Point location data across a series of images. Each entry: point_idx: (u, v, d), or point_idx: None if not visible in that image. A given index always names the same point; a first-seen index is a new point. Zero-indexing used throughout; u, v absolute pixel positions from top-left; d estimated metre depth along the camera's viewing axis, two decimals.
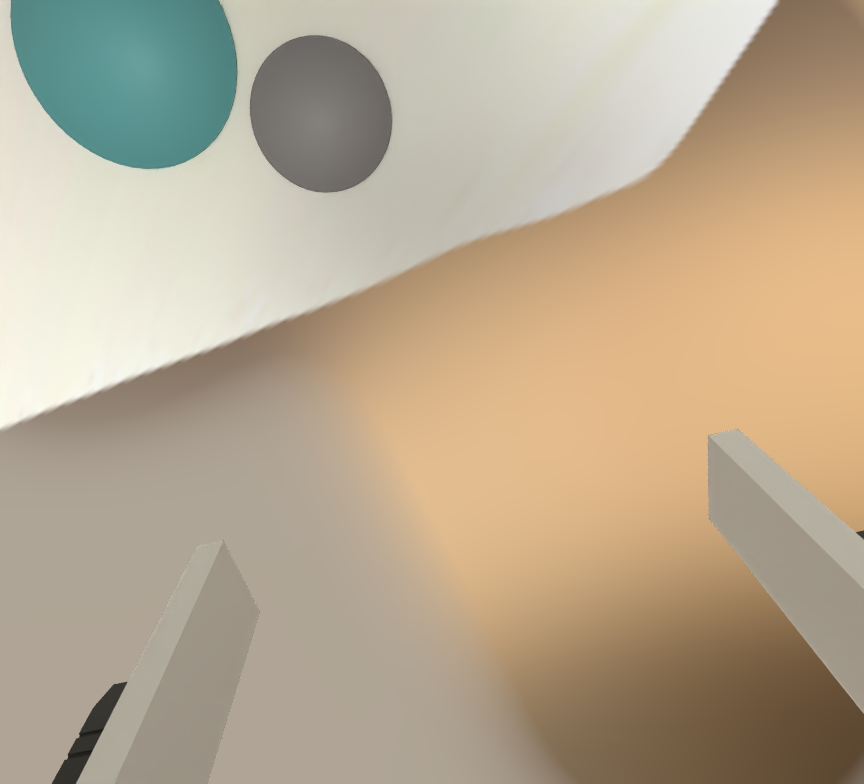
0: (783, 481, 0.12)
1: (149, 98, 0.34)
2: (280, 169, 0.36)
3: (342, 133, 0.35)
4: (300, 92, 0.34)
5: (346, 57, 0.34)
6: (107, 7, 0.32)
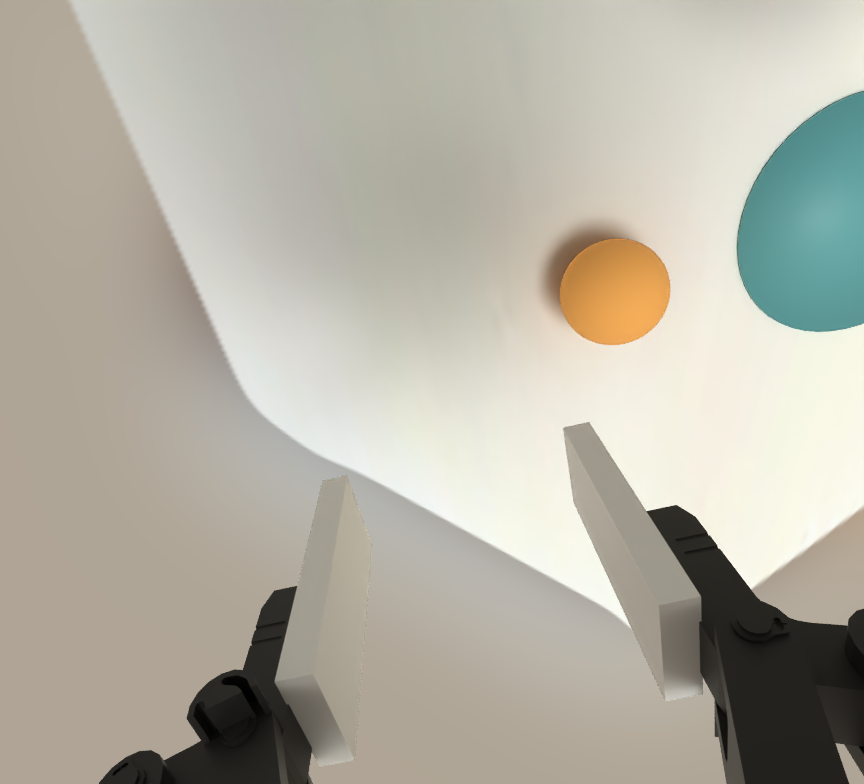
0: (606, 466, 0.14)
1: None
2: None
3: None
4: None
5: None
6: (838, 186, 0.29)
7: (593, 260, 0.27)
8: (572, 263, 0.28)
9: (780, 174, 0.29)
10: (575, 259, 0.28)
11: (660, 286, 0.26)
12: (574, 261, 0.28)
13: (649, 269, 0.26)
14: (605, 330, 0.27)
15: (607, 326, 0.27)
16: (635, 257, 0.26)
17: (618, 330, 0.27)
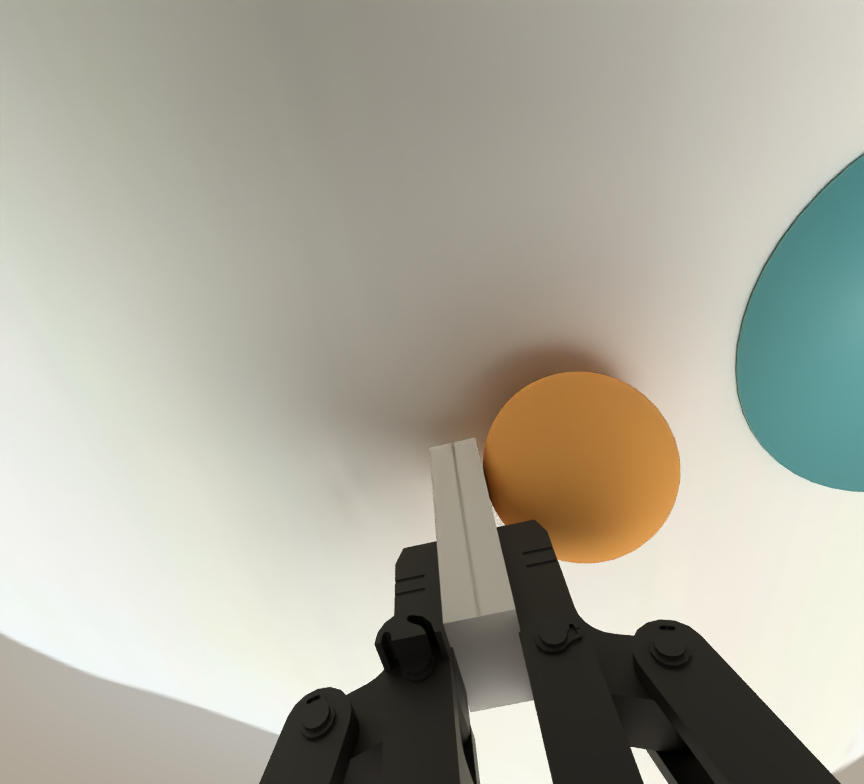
0: (476, 481, 0.14)
1: None
2: None
3: None
4: None
5: None
6: None
7: (558, 435, 0.14)
8: (507, 437, 0.15)
9: (810, 254, 0.16)
10: (511, 428, 0.15)
11: (676, 456, 0.14)
12: (511, 433, 0.15)
13: (657, 433, 0.14)
14: (604, 555, 0.14)
15: (609, 549, 0.14)
16: (631, 417, 0.14)
17: (625, 550, 0.14)
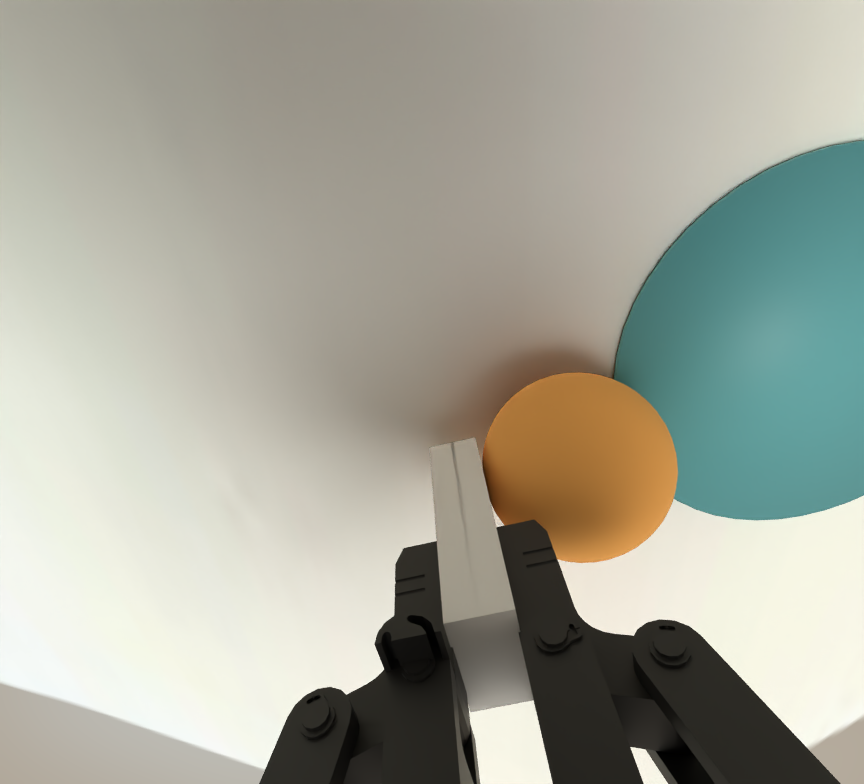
0: (476, 481, 0.14)
1: (857, 404, 0.18)
2: None
3: None
4: None
5: None
6: (781, 309, 0.17)
7: (581, 434, 0.14)
8: (523, 444, 0.14)
9: (677, 291, 0.16)
10: (525, 435, 0.14)
11: (672, 442, 0.15)
12: (526, 440, 0.14)
13: (660, 422, 0.15)
14: (628, 548, 0.14)
15: (634, 541, 0.14)
16: (639, 409, 0.14)
17: (644, 539, 0.15)
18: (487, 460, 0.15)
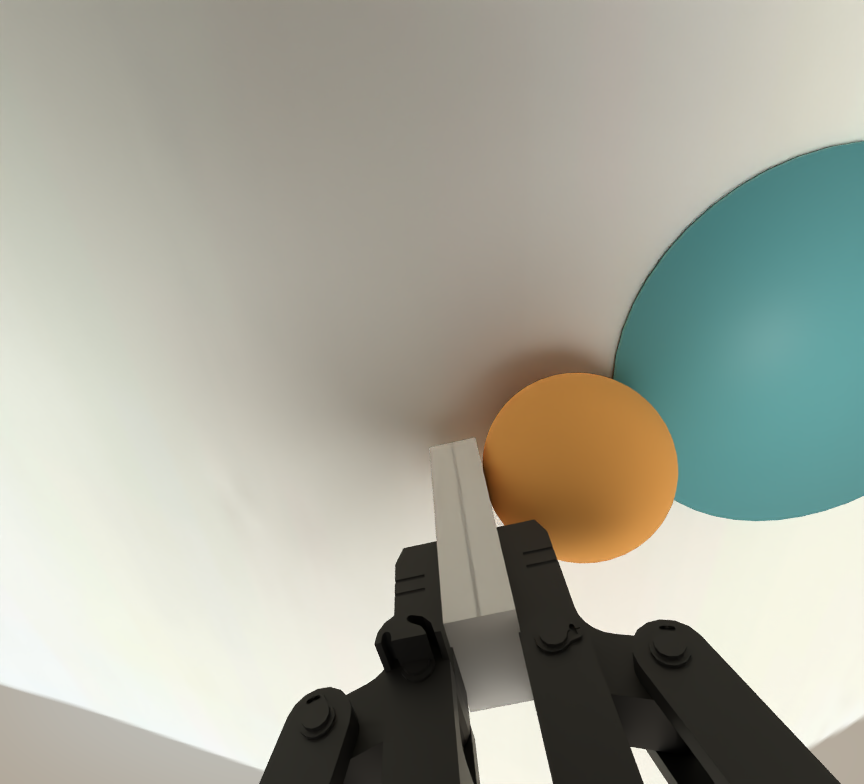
0: (476, 481, 0.14)
1: (857, 405, 0.18)
2: None
3: None
4: None
5: None
6: (780, 310, 0.17)
7: (581, 435, 0.14)
8: (523, 444, 0.14)
9: (676, 292, 0.16)
10: (525, 435, 0.14)
11: (672, 442, 0.15)
12: (527, 440, 0.14)
13: (660, 422, 0.15)
14: (627, 548, 0.14)
15: (634, 542, 0.14)
16: (639, 410, 0.14)
17: (644, 540, 0.15)
18: (487, 460, 0.15)
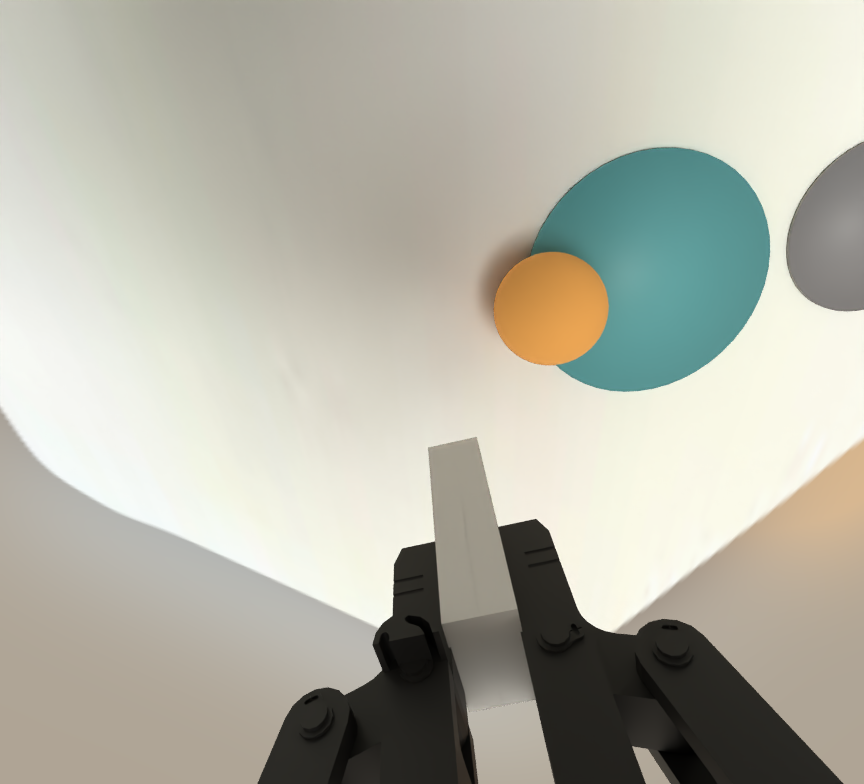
0: (477, 481, 0.14)
1: (677, 310, 0.30)
2: (828, 304, 0.30)
3: None
4: (847, 214, 0.28)
5: None
6: (621, 248, 0.28)
7: (567, 256, 0.25)
8: (548, 269, 0.24)
9: (558, 236, 0.28)
10: (545, 266, 0.25)
11: None
12: (548, 267, 0.25)
13: None
14: (607, 316, 0.26)
15: (608, 310, 0.26)
16: None
17: None
18: (527, 298, 0.24)
